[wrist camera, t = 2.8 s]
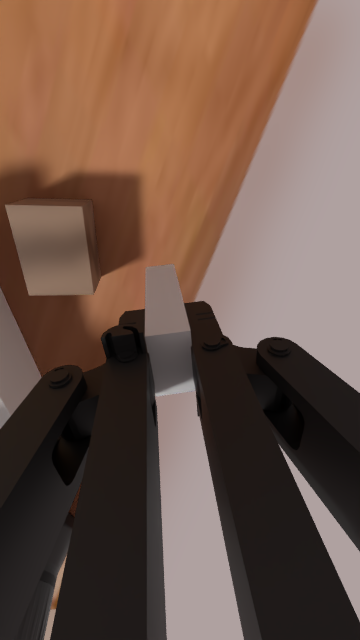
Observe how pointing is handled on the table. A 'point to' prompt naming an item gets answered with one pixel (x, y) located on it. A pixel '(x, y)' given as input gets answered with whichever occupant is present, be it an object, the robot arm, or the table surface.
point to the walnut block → (56, 245)
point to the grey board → (13, 364)
